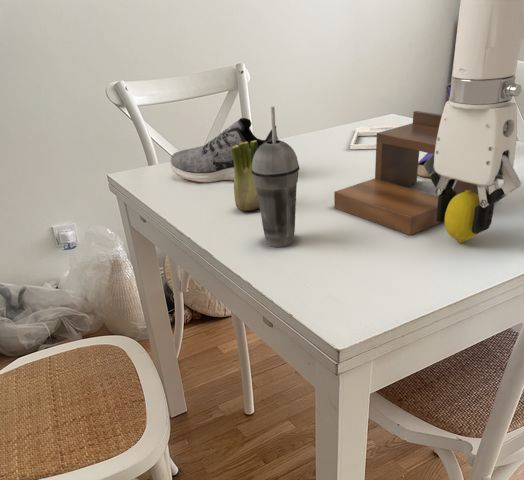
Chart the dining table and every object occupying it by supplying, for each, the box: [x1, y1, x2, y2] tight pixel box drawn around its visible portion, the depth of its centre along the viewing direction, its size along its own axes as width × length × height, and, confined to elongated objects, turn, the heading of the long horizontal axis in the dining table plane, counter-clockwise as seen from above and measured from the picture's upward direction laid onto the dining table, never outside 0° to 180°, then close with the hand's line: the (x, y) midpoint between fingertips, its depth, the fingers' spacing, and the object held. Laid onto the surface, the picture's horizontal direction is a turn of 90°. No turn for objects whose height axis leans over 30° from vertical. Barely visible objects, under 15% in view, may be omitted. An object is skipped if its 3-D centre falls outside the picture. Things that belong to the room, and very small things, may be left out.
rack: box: [333, 110, 489, 236], centre depth 92 cm, size 20×18×13 cm
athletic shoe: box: [170, 117, 279, 184], centre depth 114 cm, size 10×27×12 cm, turn 71°
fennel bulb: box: [231, 140, 260, 212], centre depth 97 cm, size 6×5×12 cm
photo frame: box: [349, 125, 402, 150], centre depth 133 cm, size 15×1×18 cm
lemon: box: [444, 190, 480, 244], centre depth 79 cm, size 6×6×8 cm
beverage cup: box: [251, 106, 301, 248], centre depth 81 cm, size 7×7×20 cm
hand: (462, 223), depth 79 cm, fingers closed on lemon, 5 cm apart
